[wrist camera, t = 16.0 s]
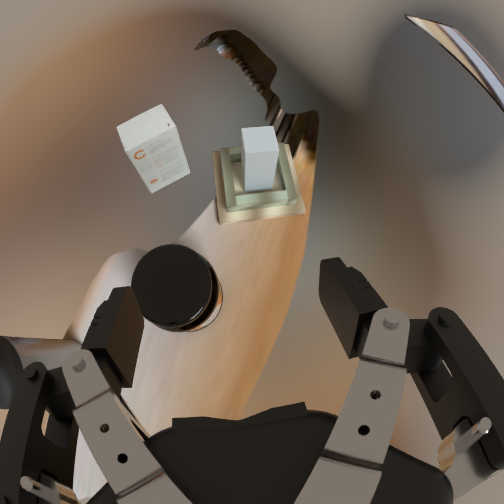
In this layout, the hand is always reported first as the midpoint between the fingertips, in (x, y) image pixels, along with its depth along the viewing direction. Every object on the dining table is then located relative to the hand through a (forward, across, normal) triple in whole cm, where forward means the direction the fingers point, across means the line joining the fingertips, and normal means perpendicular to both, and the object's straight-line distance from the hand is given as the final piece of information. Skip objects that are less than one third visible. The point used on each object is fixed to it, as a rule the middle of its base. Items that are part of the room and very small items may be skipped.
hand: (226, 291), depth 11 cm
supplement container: (+25, +7, +19) cm, 32 cm away
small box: (+41, +10, +2) cm, 42 cm away
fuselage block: (+36, -6, +5) cm, 37 cm away
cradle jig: (+37, -6, +6) cm, 38 cm away
